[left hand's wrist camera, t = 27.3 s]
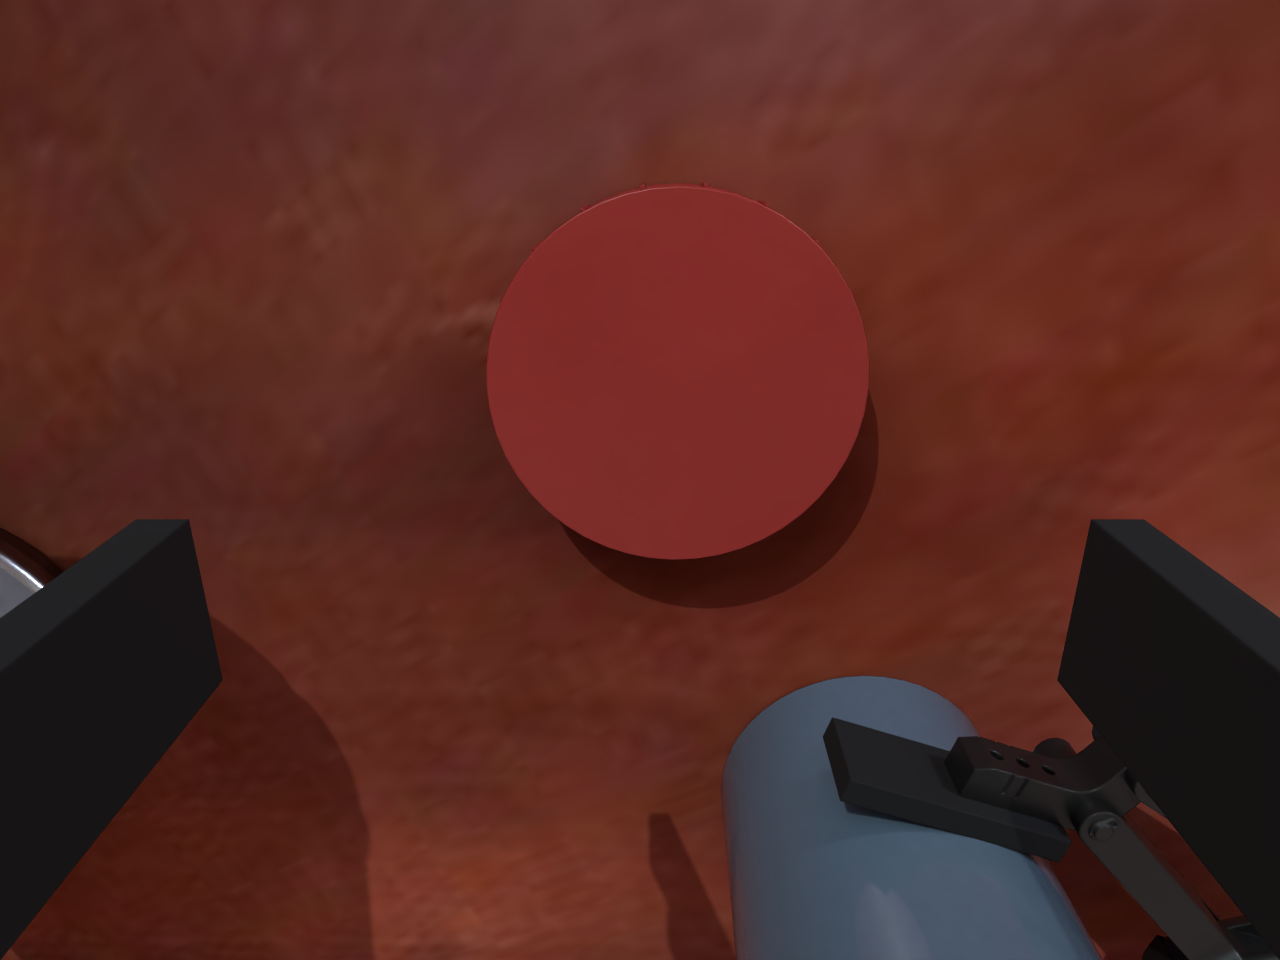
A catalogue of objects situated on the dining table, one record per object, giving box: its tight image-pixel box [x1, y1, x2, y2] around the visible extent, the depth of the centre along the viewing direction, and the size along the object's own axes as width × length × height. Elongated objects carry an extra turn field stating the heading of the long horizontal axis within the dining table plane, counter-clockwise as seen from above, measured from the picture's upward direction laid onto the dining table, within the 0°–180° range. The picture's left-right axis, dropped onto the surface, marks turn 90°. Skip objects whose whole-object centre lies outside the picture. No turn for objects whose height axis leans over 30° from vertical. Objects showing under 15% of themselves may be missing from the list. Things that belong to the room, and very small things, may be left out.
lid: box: [486, 182, 869, 560], centre depth 25 cm, size 11×11×2 cm
